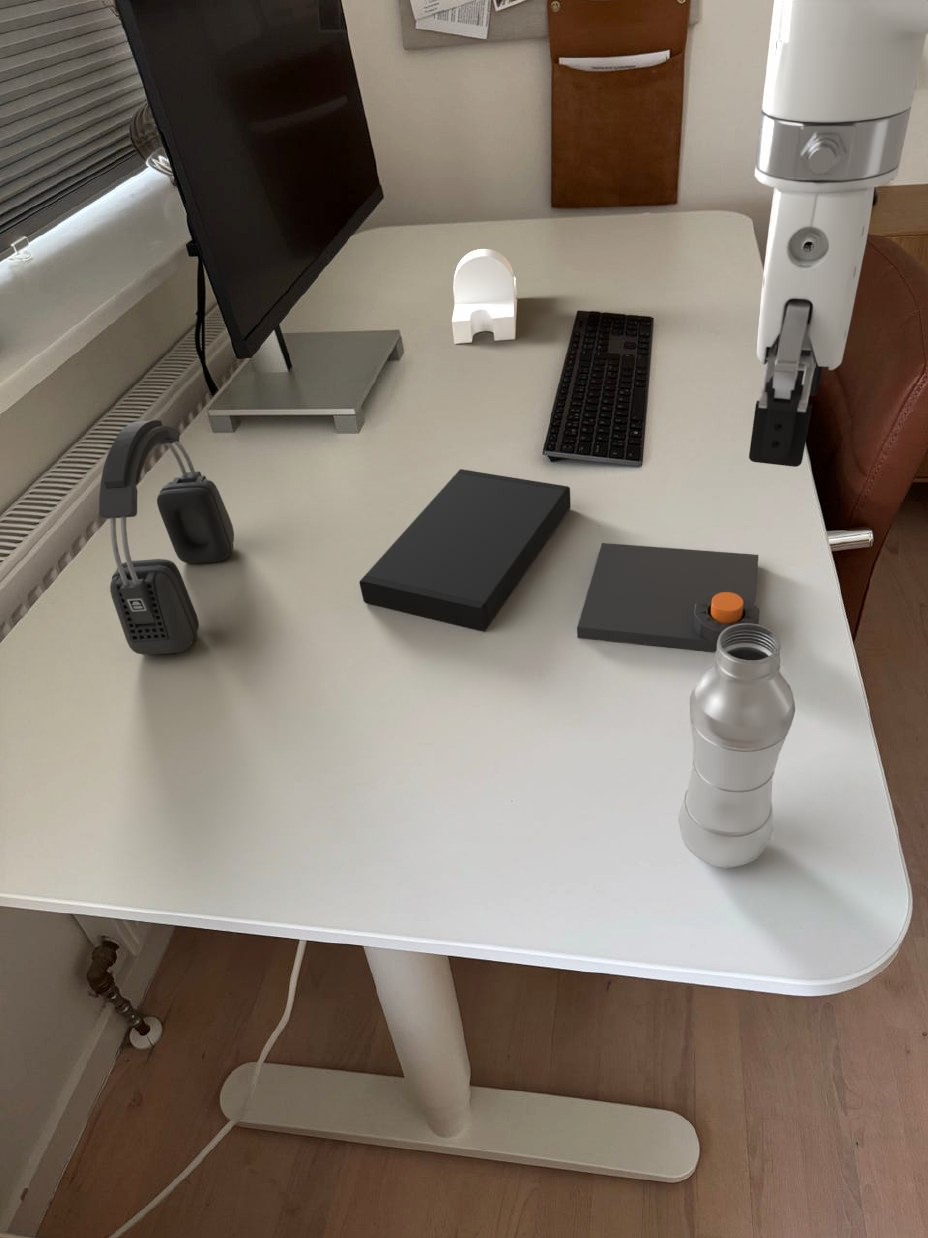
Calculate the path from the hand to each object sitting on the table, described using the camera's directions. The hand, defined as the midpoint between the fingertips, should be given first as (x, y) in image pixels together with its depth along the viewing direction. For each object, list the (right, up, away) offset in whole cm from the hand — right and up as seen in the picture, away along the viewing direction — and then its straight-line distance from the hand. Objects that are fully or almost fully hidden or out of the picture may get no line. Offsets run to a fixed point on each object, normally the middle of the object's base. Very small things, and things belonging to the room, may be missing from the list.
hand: (784, 425), depth 60 cm
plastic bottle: (-2, -30, +7) cm, 31 cm away
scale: (-1, -11, +29) cm, 31 cm away
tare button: (+3, -13, +22) cm, 26 cm away
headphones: (-52, -11, +38) cm, 65 cm away
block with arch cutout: (-18, +37, +90) cm, 99 cm away
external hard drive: (-21, -6, +39) cm, 44 cm away
